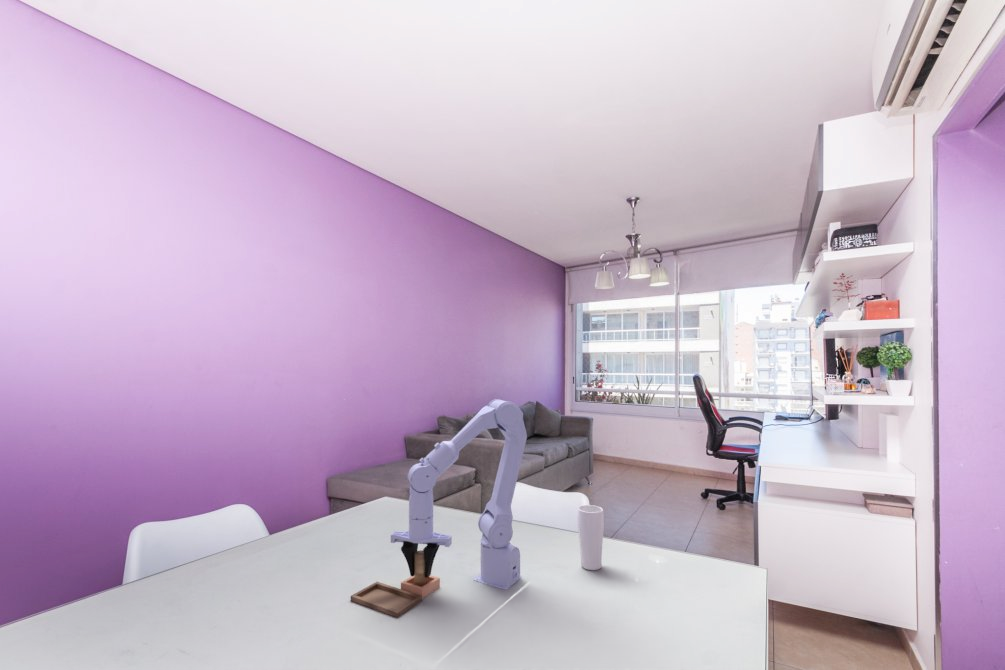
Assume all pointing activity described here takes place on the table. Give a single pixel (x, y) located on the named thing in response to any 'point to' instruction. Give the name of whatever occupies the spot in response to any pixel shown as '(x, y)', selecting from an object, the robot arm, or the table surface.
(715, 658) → the table surface
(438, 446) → the robot arm
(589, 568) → the drinking glass
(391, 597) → the tray
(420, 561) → the dowel
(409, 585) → the open box
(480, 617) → the table surface
